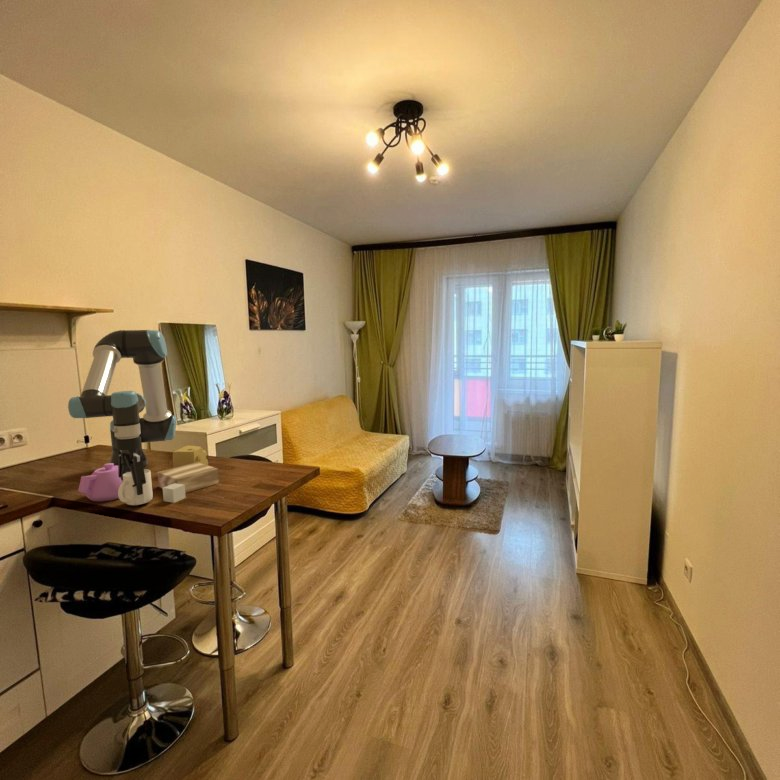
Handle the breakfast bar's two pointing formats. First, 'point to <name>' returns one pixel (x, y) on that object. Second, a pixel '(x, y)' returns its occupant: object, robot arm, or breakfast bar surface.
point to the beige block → (174, 492)
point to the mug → (130, 491)
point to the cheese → (189, 456)
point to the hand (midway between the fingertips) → (133, 500)
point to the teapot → (101, 484)
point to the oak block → (189, 476)
